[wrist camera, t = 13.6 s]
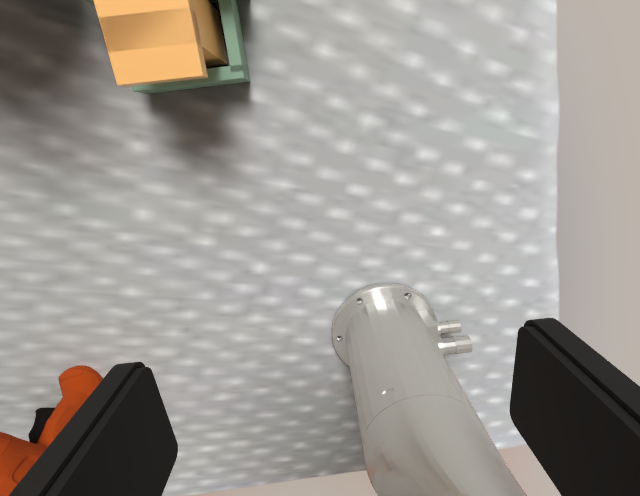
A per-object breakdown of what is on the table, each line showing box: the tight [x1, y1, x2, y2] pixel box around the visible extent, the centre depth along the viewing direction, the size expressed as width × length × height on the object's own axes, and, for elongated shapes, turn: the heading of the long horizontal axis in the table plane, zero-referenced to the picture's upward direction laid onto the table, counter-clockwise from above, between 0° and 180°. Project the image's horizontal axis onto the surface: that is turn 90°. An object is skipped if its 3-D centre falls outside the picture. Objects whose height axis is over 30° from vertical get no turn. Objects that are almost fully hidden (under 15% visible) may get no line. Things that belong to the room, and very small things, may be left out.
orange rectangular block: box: [93, 0, 228, 87], centre depth 27 cm, size 6×6×9 cm
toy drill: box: [0, 366, 103, 496], centre depth 35 cm, size 5×19×15 cm, turn 19°
